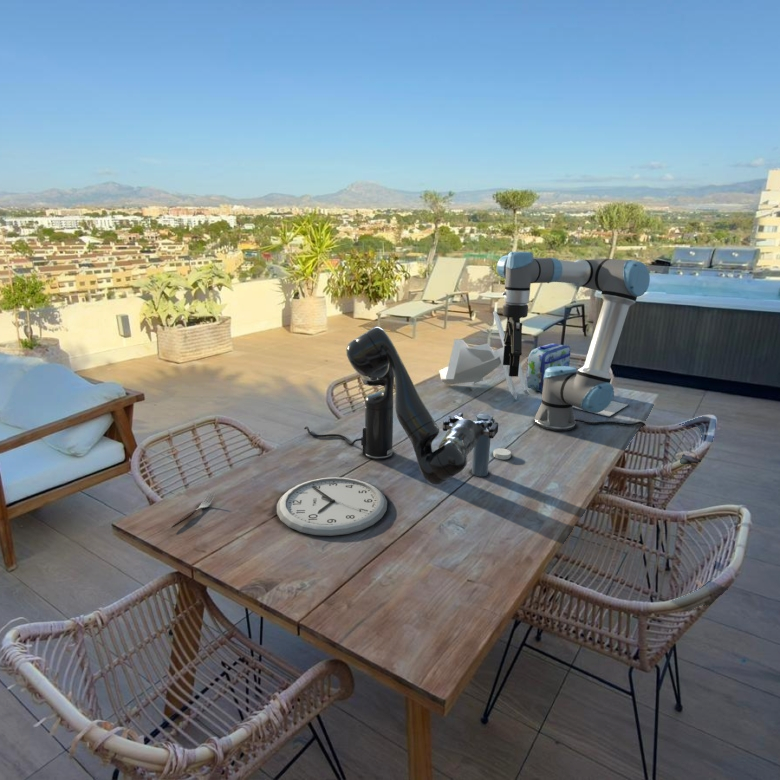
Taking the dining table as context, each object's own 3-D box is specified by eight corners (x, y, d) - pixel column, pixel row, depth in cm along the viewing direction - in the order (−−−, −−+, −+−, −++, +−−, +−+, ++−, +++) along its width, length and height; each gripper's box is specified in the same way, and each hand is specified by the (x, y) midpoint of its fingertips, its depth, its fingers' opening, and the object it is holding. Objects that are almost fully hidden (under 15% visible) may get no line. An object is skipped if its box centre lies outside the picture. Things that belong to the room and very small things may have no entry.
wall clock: (392, 527, 129) (268, 531, 127) (391, 533, 130) (269, 537, 127) (383, 473, 158) (282, 475, 155) (383, 478, 158) (282, 480, 156)
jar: (483, 468, 166) (487, 413, 161) (490, 475, 162) (495, 418, 156) (469, 470, 165) (472, 414, 159) (475, 477, 160) (479, 419, 155)
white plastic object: (461, 429, 252) (437, 405, 227) (444, 352, 274) (420, 323, 250) (535, 404, 240) (518, 377, 215) (510, 326, 262) (492, 293, 237)
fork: (167, 528, 130) (166, 521, 130) (209, 498, 145) (208, 492, 144) (175, 530, 130) (174, 523, 129) (216, 500, 144) (216, 494, 143)
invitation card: (608, 416, 214) (573, 407, 224) (608, 416, 214) (573, 408, 224) (628, 404, 229) (594, 396, 238) (628, 405, 229) (594, 397, 238)
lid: (502, 461, 172) (503, 456, 171) (489, 455, 176) (489, 450, 176) (514, 456, 175) (514, 452, 175) (500, 451, 180) (501, 446, 179)
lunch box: (542, 395, 240) (547, 351, 233) (522, 390, 247) (526, 347, 241) (569, 384, 257) (575, 343, 251) (550, 380, 264) (554, 339, 258)
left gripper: (490, 428, 129) (502, 408, 143) (435, 420, 134) (452, 401, 148) (488, 456, 131) (500, 434, 146) (434, 447, 136) (451, 426, 151)
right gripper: (498, 298, 173) (493, 360, 179) (509, 309, 149) (503, 380, 155) (521, 298, 172) (515, 361, 179) (536, 310, 148) (529, 381, 155)
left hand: (476, 417), depth 147 cm, fingers open, 8 cm apart
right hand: (510, 370), depth 167 cm, fingers open, 13 cm apart
